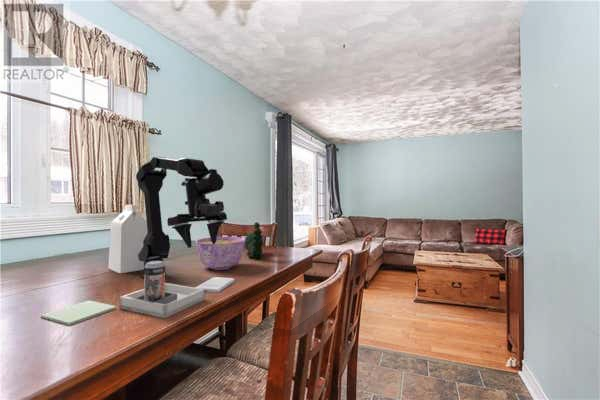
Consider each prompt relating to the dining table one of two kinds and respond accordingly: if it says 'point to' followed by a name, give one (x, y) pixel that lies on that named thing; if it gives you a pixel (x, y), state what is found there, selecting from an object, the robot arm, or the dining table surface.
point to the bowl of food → (220, 252)
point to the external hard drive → (216, 284)
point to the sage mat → (78, 312)
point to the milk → (127, 241)
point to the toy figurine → (254, 243)
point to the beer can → (154, 281)
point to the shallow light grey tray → (163, 301)
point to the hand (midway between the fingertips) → (202, 245)
